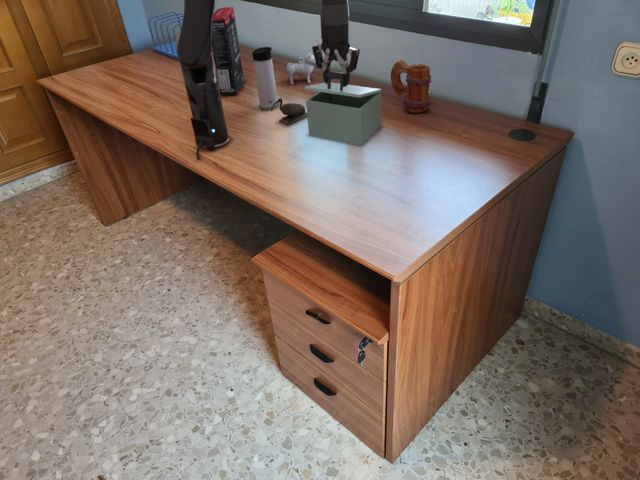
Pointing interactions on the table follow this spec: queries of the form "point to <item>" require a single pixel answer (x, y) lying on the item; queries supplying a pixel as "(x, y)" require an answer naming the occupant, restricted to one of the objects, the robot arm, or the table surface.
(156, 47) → the file sorter
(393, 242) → the table surface
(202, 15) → the robot arm
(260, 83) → the travel mug
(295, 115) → the figurine
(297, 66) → the dog figurine
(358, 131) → the chest
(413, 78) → the mug
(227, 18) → the graphics card box
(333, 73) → the lid
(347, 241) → the table surface
